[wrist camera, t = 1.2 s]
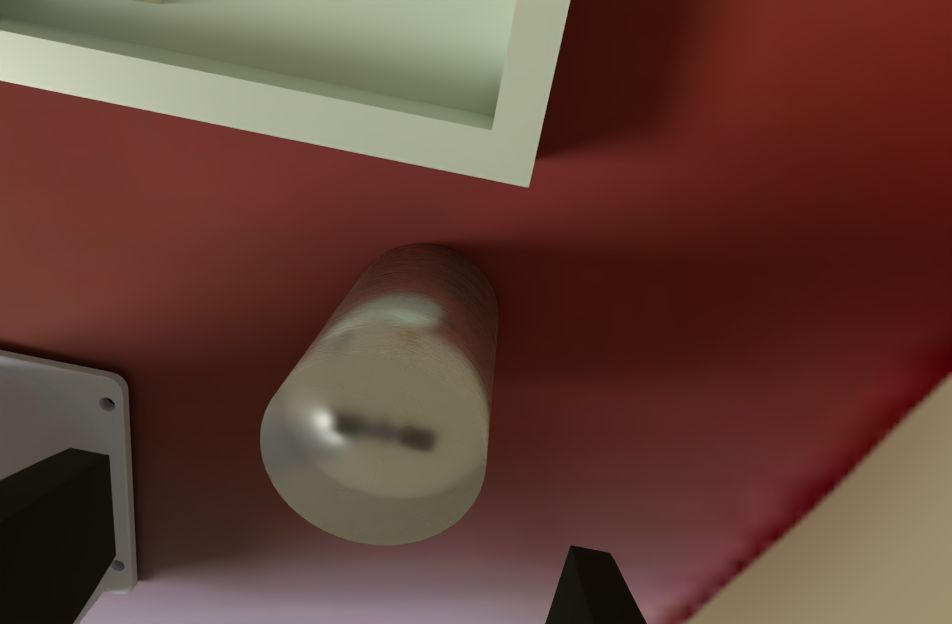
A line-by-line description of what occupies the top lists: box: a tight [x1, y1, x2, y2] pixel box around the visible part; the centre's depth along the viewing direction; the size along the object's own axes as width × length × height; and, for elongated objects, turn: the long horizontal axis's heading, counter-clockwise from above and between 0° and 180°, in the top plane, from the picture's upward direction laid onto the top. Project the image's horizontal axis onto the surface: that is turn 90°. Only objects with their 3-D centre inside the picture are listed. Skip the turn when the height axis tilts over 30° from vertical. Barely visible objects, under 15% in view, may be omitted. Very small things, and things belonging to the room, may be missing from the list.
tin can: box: [260, 244, 499, 546], centre depth 15 cm, size 4×4×7 cm
